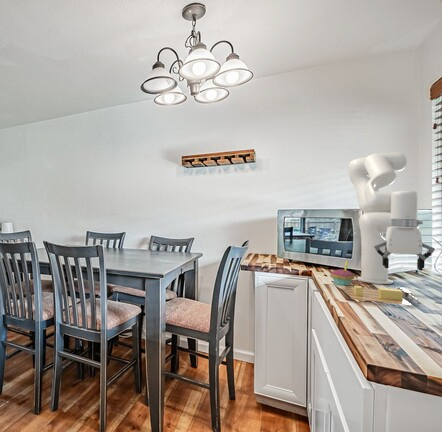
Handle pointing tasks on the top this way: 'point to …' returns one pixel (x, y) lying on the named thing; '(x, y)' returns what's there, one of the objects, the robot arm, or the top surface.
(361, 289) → the butter pat
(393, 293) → the butter
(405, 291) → the knife
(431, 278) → the top surface
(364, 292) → the board
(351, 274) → the birthday cake
